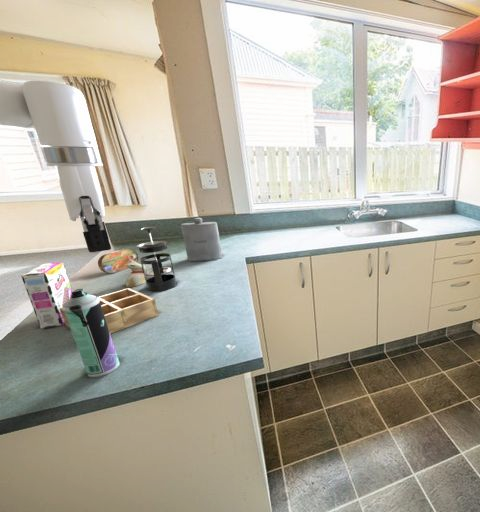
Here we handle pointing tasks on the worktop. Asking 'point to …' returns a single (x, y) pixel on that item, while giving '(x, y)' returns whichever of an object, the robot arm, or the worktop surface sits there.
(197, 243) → the flask
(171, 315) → the worktop surface
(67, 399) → the worktop surface
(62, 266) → the candy bar box
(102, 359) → the spray can
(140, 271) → the chocolate bunny
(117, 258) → the tin
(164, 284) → the french press
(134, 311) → the tray
